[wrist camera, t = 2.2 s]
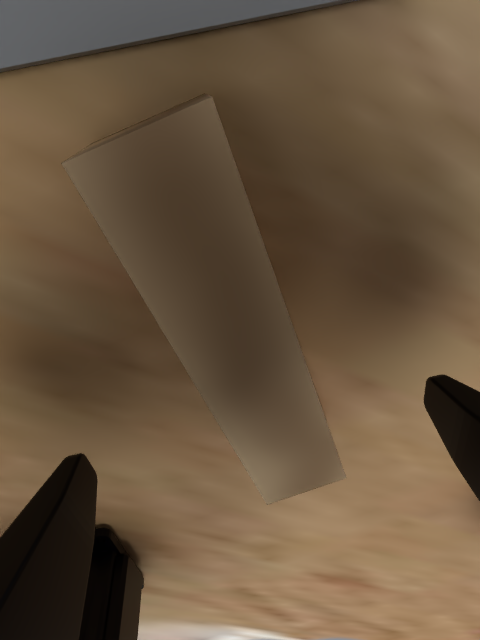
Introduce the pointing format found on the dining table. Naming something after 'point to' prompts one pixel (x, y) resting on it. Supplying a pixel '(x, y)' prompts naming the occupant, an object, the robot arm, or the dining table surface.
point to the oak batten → (211, 288)
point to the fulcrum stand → (120, 24)
